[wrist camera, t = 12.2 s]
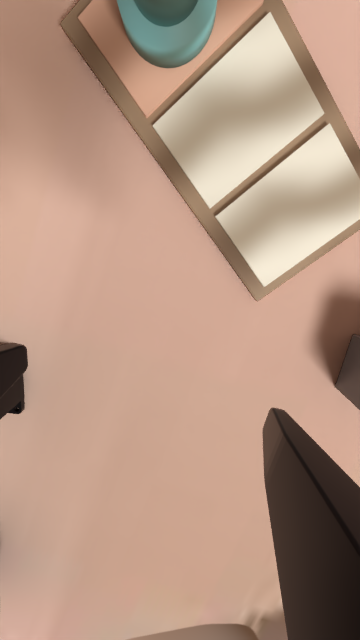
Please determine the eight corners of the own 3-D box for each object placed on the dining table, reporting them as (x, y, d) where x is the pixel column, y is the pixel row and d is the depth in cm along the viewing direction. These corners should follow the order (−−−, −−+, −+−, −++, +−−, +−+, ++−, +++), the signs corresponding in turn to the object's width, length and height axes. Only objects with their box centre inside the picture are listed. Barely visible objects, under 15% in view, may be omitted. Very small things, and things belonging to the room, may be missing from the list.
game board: (383, 209, 18) (393, 207, 17) (255, 300, 20) (258, 302, 19) (203, -132, 13) (204, -158, 12) (64, 31, 15) (57, 19, 15)
